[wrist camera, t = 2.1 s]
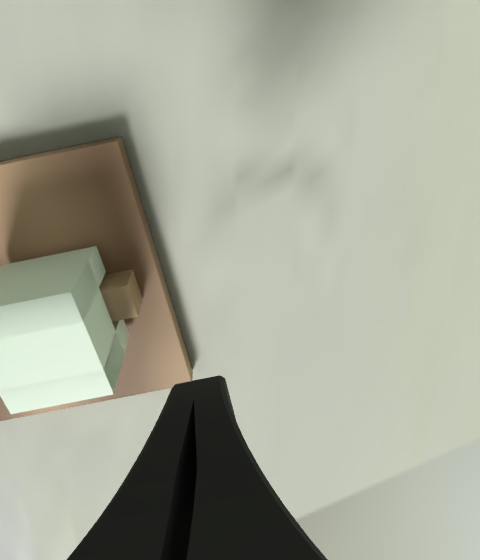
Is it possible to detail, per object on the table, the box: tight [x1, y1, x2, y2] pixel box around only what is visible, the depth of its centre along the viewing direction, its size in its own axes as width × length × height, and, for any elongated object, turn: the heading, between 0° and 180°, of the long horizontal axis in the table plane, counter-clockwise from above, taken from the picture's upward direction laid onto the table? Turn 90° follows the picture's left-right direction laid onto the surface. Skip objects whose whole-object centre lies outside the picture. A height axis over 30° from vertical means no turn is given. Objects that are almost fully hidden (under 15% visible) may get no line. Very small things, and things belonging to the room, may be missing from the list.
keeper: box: [0, 246, 129, 414], centre depth 17 cm, size 4×4×4 cm
